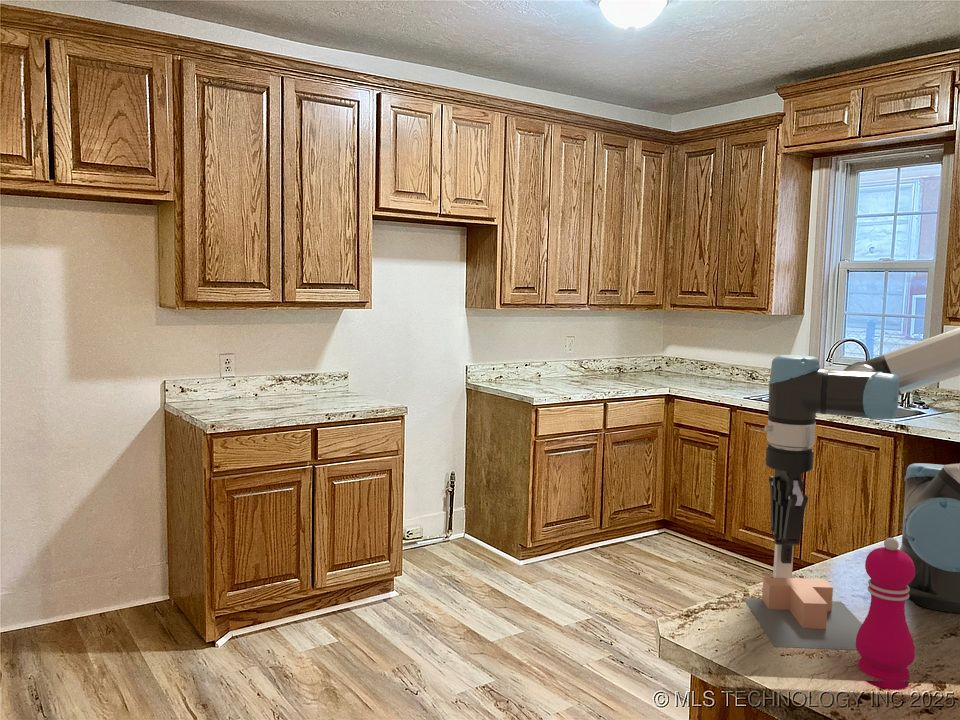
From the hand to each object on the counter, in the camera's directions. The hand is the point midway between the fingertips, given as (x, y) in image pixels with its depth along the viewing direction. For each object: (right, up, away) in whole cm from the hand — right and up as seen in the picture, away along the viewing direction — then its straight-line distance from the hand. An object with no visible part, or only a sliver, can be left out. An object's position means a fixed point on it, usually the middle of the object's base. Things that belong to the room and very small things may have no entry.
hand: (782, 578), depth 131 cm
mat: (-1, -4, -13) cm, 13 cm away
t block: (-1, -3, -10) cm, 10 cm away
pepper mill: (+3, -6, -27) cm, 28 cm away
